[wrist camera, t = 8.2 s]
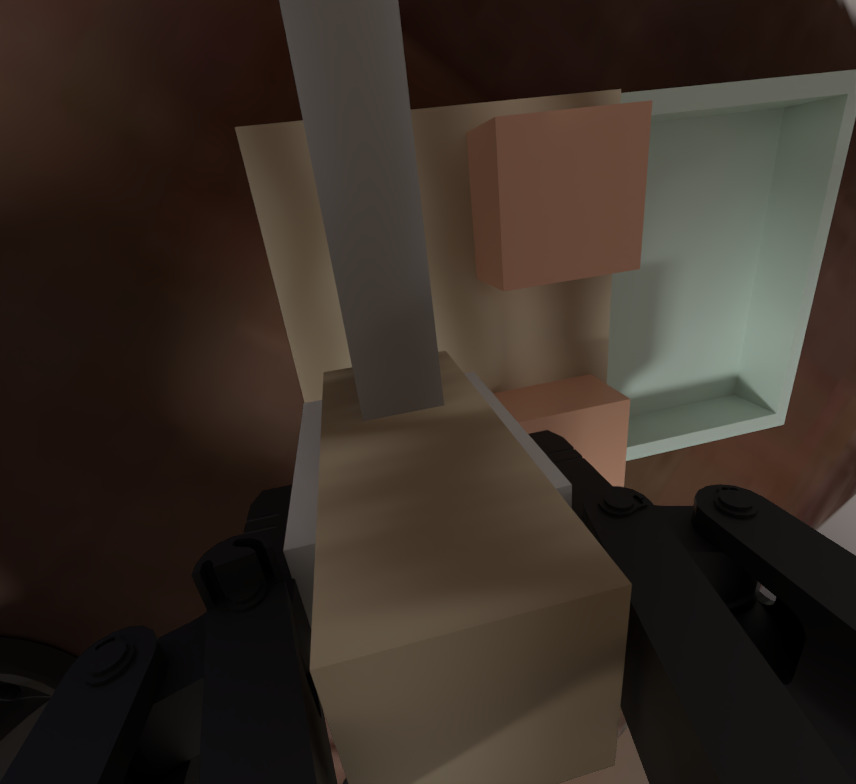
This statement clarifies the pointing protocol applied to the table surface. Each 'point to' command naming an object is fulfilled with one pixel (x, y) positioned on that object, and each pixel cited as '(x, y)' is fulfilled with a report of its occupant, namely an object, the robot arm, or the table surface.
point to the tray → (726, 254)
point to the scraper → (432, 485)
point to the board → (446, 252)
